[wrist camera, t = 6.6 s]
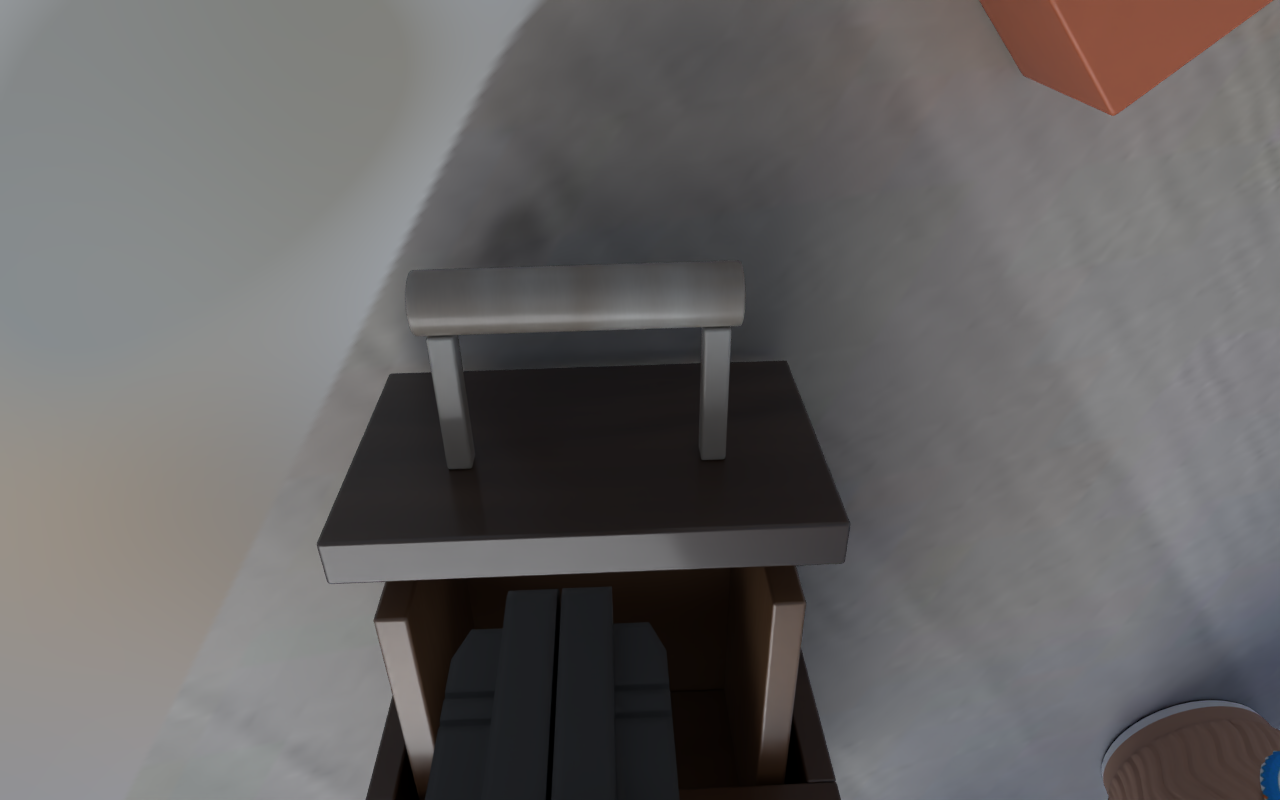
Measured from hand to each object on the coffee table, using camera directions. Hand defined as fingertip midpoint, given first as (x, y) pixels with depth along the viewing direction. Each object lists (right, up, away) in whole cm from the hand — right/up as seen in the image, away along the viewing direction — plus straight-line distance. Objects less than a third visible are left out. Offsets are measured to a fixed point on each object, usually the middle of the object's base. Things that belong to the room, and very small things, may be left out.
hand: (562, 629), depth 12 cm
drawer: (0, +1, +14) cm, 14 cm away
